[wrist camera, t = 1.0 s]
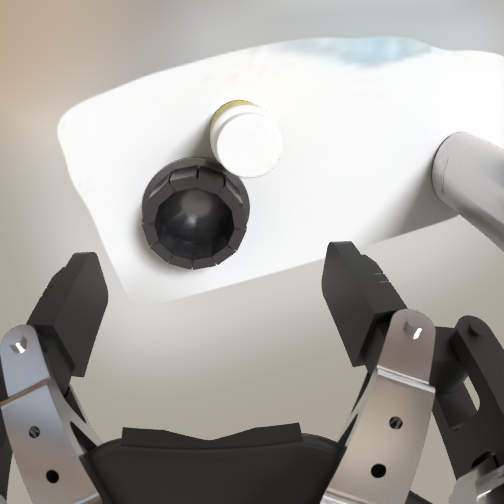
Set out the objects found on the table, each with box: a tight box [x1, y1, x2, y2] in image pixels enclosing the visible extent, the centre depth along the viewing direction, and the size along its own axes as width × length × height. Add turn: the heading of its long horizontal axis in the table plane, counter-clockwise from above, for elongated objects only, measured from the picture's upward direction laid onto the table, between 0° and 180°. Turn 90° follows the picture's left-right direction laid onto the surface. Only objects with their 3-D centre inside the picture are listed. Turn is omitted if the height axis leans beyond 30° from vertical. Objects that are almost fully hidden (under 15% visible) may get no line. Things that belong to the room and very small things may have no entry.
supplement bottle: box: [210, 100, 283, 178], centre depth 20 cm, size 5×5×8 cm
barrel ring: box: [142, 157, 250, 270], centre depth 26 cm, size 10×10×3 cm
